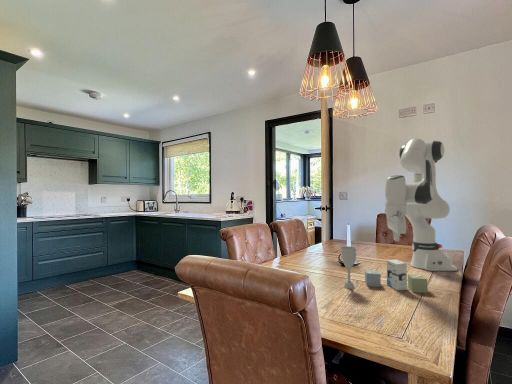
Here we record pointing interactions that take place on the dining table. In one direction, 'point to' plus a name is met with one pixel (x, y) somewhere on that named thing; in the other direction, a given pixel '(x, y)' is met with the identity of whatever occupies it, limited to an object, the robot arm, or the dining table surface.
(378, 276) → the slate block
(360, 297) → the dining table surface
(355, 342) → the dining table surface
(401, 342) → the dining table surface
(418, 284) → the olive block
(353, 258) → the chalice
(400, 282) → the ink box
